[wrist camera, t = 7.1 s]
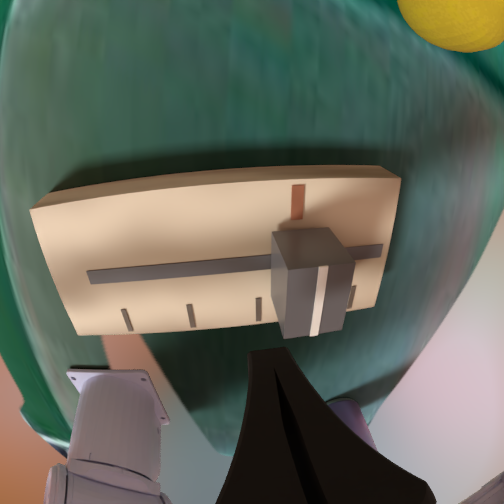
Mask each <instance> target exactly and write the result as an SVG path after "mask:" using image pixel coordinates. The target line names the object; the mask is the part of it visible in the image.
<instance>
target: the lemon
mask: <svg viewBox="0 0 504 504" xmlns="http://www.w3.org/2000/svg"><path fill="white" fill-rule="evenodd" d="M397 2H398V6H399V9H400V12H401V14H402V16H403V18H404V19H405V21H406V22H407V23H408V25H409V26H410V27H411V28H412V29H413V30H414V31H415V32H416V33H417V34H418V35H419V36H421V37H422V38H423V39H425V40H426V41H428V42H429V43H431V44H434V45H436V46H438V47H441V48H443V49H447V50H453V51H459V52H476V51H481V50H486V49H490V48H493V47H495V46H497V45H499V44H500V43H501V42H503V41H504V0H397Z"/></svg>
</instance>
